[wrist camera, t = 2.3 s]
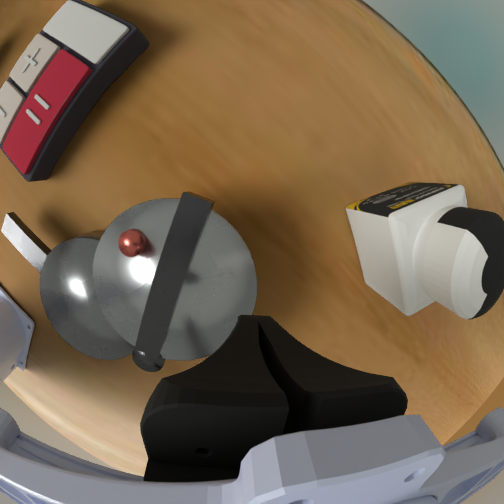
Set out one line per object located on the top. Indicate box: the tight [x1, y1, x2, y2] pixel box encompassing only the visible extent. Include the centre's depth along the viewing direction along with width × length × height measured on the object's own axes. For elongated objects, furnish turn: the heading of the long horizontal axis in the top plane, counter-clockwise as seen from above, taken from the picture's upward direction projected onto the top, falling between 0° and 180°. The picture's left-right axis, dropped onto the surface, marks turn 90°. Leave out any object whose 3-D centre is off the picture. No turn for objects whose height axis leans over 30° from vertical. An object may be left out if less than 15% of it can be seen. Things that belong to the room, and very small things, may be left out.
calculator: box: [0, 0, 149, 182], centre depth 15 cm, size 11×4×15 cm
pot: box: [1, 212, 135, 360], centre depth 19 cm, size 10×18×4 cm, turn 52°
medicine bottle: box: [346, 182, 504, 319], centre depth 16 cm, size 7×7×12 cm
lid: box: [93, 192, 257, 372], centre depth 16 cm, size 13×11×3 cm
